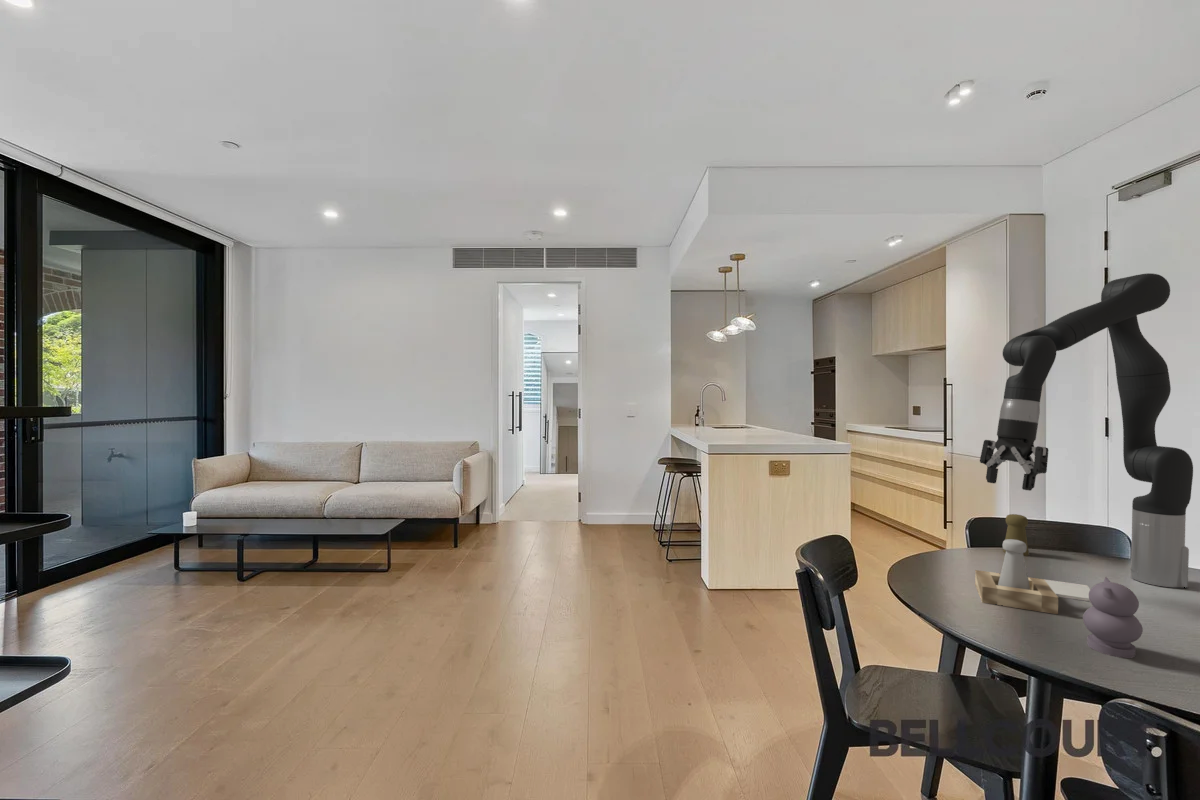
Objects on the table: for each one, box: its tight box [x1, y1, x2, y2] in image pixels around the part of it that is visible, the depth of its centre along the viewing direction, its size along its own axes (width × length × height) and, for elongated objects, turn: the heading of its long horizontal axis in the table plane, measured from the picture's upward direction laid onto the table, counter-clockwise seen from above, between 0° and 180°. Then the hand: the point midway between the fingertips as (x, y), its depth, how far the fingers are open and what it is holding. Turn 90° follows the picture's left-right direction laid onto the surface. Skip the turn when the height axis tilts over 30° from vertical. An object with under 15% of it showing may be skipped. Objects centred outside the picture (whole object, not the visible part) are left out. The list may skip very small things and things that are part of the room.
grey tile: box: [1044, 579, 1091, 602], centre depth 129 cm, size 11×11×1 cm
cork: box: [1002, 513, 1030, 557], centre depth 160 cm, size 6×6×11 cm
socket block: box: [974, 569, 1059, 615], centre depth 124 cm, size 13×13×4 cm
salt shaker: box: [998, 539, 1030, 590], centre depth 124 cm, size 6×6×13 cm
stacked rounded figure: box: [1082, 576, 1144, 659], centre depth 99 cm, size 8×8×12 cm
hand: (1008, 486), depth 133 cm, fingers open, 8 cm apart
